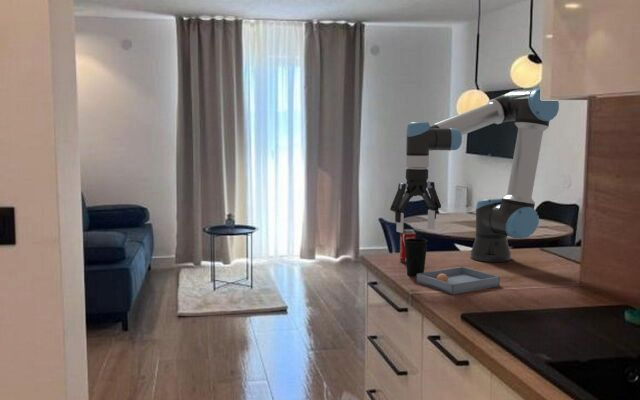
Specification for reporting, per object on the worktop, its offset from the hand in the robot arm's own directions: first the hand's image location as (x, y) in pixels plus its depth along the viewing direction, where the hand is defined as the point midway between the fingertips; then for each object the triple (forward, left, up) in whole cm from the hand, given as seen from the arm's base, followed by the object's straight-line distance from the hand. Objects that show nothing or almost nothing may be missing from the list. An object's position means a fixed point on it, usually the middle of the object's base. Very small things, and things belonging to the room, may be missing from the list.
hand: (415, 230), depth 217 cm
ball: (+3, +18, -15) cm, 23 cm away
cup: (0, 0, -16) cm, 16 cm away
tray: (-3, +18, -15) cm, 24 cm away
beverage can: (-11, -18, -16) cm, 26 cm away
